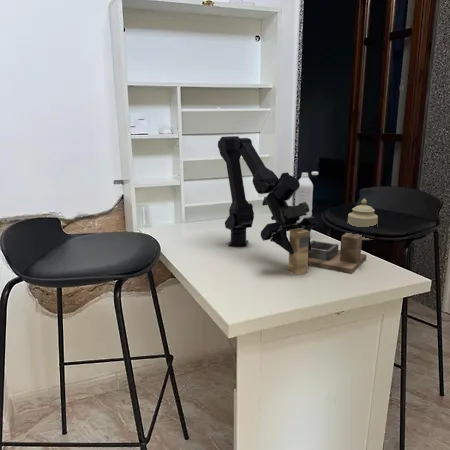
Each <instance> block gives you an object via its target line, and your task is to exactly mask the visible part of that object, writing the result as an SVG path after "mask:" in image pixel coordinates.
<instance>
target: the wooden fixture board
mask: <svg viewBox="0 0 450 450" xmlns="http://www.w3.org/2000/svg"><path fill="white" fill-rule="evenodd" d="M340 238H341V240H340V249H339V244H337V243H330V242H324V241H319V240H310V242H311V250H310V251H308V265H307V266H308V267H309V266H310V267H314V268H319V269H325V270H330V271H334V272H335V271H336V272H340V273H345V274H350V275H352V274H353V273H354V272H355V271H356V270H357V269H358V268H359V267H360V266H361V265H362V264H363V263H364V262H365V261H366V260H367V254H366V253H362V242H363V240H362V235H359V234H352V233H347V232H346V233H344V234H342V236H341V237H340Z"/></svg>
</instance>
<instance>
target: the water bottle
mask: <svg viewBox="0 0 450 450" xmlns="http://www.w3.org/2000/svg"><path fill="white" fill-rule="evenodd" d="M311 175H312V176H318V175H319V171H311ZM298 181H299V183H300V187H299V188H298V190H297V191H296V192H295V193H294V195H295V200H294V206H298V205H299V204H301V203H303V202H306V203H307V205H308V206H309V212H307V213H306V214H307V215H303V216H300V220H299V221H297V223H300V222H301V221H302V220H303V219H304V218H306V217H312V216H313V211H312V210H313V196H314V195H313V194H314V193H313V191H314V184H313V182H312V180H311V179H310V177H309V172H301V177H300V178H299V179H298ZM311 236H312V230H311V231H310V238H311Z"/></svg>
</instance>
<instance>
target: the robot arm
mask: <svg viewBox="0 0 450 450" xmlns="http://www.w3.org/2000/svg"><path fill="white" fill-rule="evenodd" d="M252 142H253V141H252V139H251V138H249V137H241V138H240V137H239V136H238V135H235V136H234V135H232V136H231V135H230V136H221V137H220V138H219V140H218V142H217V147H218V151H219V156H221V158H222V159H223V161H224V162H225V163H226V164H225V165H226V170H227V171H226V172H227V176H228V185H229V190H230V195H231V204H230V206H229V209H228V213H229V215H228V217H227V218H226V220H225V221H224V226H225V229H228V230H230V241H229V243H228V246H231V247H247V246H248V243H249V240H247V229H248V228H249V229H250V228H252V226H253V223H254V218H255V216H254V215H255V213H254V206H253V204H252V203H249V201H247V198H246V193H245V192H246V191H245V186H244V181H243V173H242V166H241V158H242V160H243V161H244V162H245V164H246V166H247V168H248V169H249V171H250V173H251V174H252V184H253V187H254V189H255V191H256V193H257V194H259V195H264V194H267V195H266V196H264V197H263V199H262V206H268V209H269V210H270V213H271V215H272V216H271V217H270V219H271V221H274V222H272V223H271V222H270V223H267V224H266V225H265V226H264V227H263V229H262V230H261V231H260V237H261V239H262V241H263V242H265V241H269V242H273V243H275V244H276V245H278V246H279V247H281V248H282V249H283V250H285V251H286V252H287V253H288V254H289V253H290V254H291V255H292V254H294V251H293V248H292V246H291V244H290V242H289V241H290V239H289V238H288V236H287V235H288V233H287V232H290V230H292V229H297V228H302V229H305V230H308V231H309V246H308V251H310V250H311V237H310V231H311V232H312V230H313V229H314V228H315V227H316V226H317V225H318V224H319V221H318V220H317V218H316V217H315V216H313V215H312V216H311V217H306V218H304V219H303V220H302V221H301V222H300V223H297V221H299V220H300V216H303V215H307V214H306V213H307V212H309V206H308V205H307V203H306V202H303V203H301V204H299V205H298V206H295V205H293V206H292V205H289V204H288V202H287V201H288V200H289V201H290V200H291V198H292V197H293V196H294V195H295V194H296V191H297V190H298V188H299V187H300V183H299V179H297V178H296V177H295V176H293V175H290V174H289V172H282V173H281V174H280V176H279V177H278V176H277V175H276V173H274V171H273V170H271V169H269V168H268V167H266V165H265V163H264V162H263V160H262V159H261V157H260V155H259V153H258V152H257V150H256V148H255V147H254V145H253V143H252Z"/></svg>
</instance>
